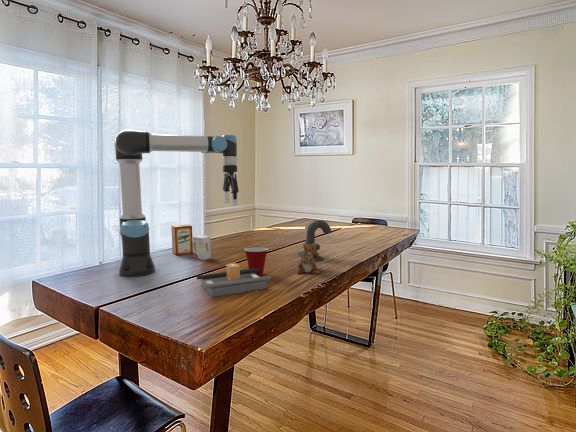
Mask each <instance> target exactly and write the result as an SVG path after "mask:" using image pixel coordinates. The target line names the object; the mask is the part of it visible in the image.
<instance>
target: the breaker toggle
mask: <svg viewBox="0 0 576 432" xmlns="http://www.w3.org/2000/svg"><path fill="white" fill-rule="evenodd" d="M225 266H226V271H225V272H227V278H228V279H229V280H230V281H234V280H240V270H241V266H240V265H239V264H238V263H236V262H235V263H234V262H233V263H226V264H225Z"/></svg>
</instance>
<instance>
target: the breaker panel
mask: <svg viewBox="0 0 576 432" xmlns="http://www.w3.org/2000/svg"><path fill="white" fill-rule="evenodd" d="M257 277H260V276H258V275H256V274H255V273H245V274H240V280H242V279H249V278H257ZM200 280H201V281H200V282H201V287H203V289H204V290H205V291H206V292H207V294H208V295H210V297H211V298H215V297H220V296H227V295H233V294H234V293H235V294H240V293H246V291H248V292H252V291H251V290H255V291H259V290H258V289H261V290H264V289H263V288H266V289H267V280H265V281H258V282H251V283H244V284H237V285H229V286H222V287H215V288H208V289H205V285H206V284H213V283H220V282H228V281H230V280H229V279H228V278H227V276H222V277H214V278H206V279H200ZM234 281H235V280H234Z"/></svg>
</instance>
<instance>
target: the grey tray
mask: <svg viewBox="0 0 576 432" xmlns="http://www.w3.org/2000/svg"><path fill="white" fill-rule="evenodd" d="M253 272H259V268H254V269H249V268H246V269H240V274H245V273H253ZM222 276H227V272H226V271H224V272H217V273H215V272H214V273H208V274H207V273H206V274H199V275H196V280H198V281H199V280H201V279H206V278H214V277H222ZM271 279H272V276H271V275H265V276H259V277H257V278H249V279H242V280H235V281H228V282H220V283H213V284H206V285H205V289H208V288H215V287H222V286H229V285H237V284H244V283H251V282H258V281H270V280H271ZM205 289H204V290H205Z"/></svg>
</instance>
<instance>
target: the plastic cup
mask: <svg viewBox="0 0 576 432" xmlns="http://www.w3.org/2000/svg"><path fill="white" fill-rule="evenodd" d="M243 251H244V252H245V256H246V260H247V261H246V262H247V266H248V267H247V268H248V269H254V268H259V272H253V273H255V274H256V275H258V276H259V275H260V276H263V274H264V269H265V264H266V259H267V253H268V251H269V248H267V247H246V248H244V250H243ZM260 276H259V277H260Z"/></svg>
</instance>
